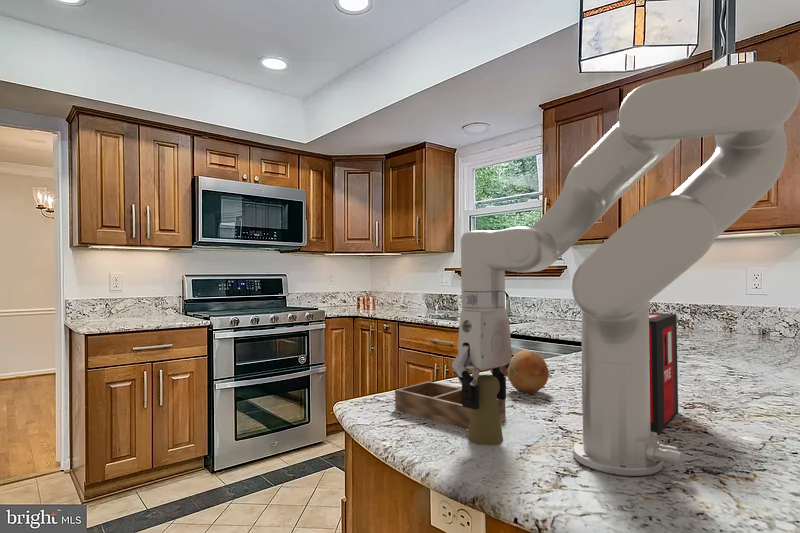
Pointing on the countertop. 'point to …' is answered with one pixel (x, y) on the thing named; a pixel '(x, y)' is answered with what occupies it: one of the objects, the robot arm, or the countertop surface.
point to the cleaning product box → (663, 370)
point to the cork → (486, 414)
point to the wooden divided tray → (437, 403)
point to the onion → (527, 371)
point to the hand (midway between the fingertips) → (484, 402)
